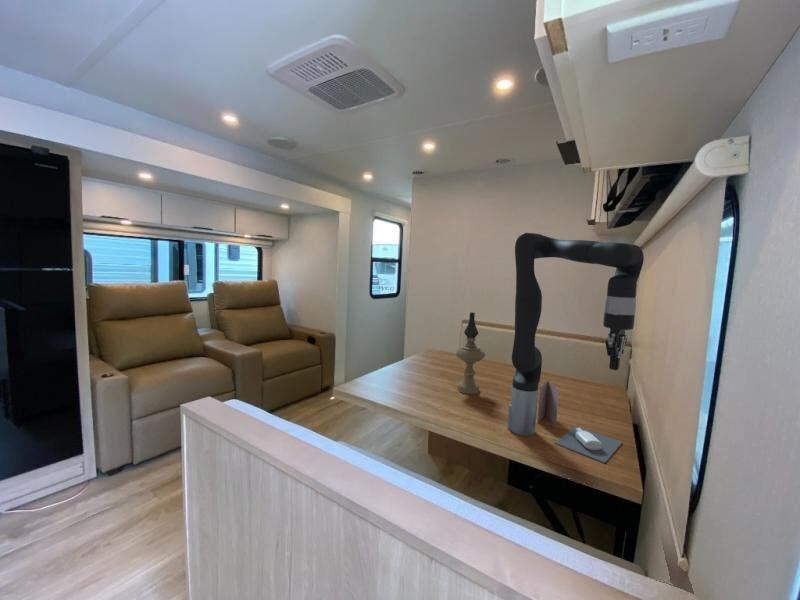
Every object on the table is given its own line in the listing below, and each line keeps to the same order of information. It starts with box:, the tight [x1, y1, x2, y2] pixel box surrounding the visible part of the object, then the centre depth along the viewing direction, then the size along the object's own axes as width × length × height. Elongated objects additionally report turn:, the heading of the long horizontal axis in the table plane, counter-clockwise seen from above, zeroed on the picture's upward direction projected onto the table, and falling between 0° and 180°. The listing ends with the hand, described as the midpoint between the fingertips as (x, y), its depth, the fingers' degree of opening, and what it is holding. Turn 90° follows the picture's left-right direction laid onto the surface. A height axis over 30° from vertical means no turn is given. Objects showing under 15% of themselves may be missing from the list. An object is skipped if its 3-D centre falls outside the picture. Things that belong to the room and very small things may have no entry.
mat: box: [554, 425, 623, 464], centre depth 120 cm, size 16×20×1 cm
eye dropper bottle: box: [576, 427, 602, 450], centre depth 121 cm, size 4×6×12 cm
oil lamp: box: [454, 311, 486, 395], centre depth 168 cm, size 15×15×40 cm
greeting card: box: [537, 380, 560, 427], centre depth 137 cm, size 11×7×15 cm, turn 141°
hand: (613, 369), depth 99 cm, fingers closed
